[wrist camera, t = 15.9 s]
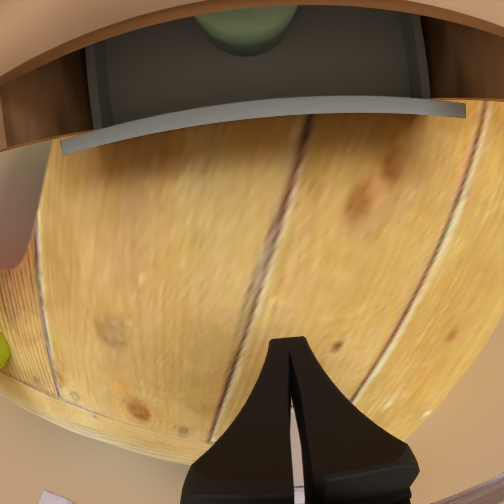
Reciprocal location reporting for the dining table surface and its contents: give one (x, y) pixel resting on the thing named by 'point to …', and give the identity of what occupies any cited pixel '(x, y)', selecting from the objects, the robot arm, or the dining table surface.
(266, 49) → the sea green cylinder
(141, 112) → the drawer tray
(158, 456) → the dining table surface
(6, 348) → the soap dispenser
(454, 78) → the wooden drawer box
